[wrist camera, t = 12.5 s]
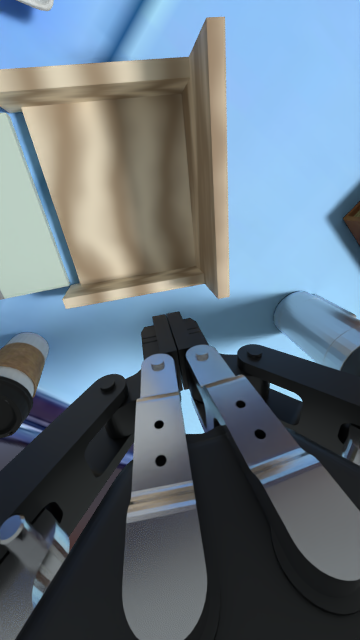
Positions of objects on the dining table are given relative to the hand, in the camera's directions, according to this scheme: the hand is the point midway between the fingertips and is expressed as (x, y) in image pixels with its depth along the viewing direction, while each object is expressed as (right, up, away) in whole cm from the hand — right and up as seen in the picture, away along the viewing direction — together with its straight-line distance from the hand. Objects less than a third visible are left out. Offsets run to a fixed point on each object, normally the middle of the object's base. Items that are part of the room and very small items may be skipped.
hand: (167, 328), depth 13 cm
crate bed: (-8, +17, +20) cm, 28 cm away
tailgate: (-18, +15, +19) cm, 30 cm away
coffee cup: (-25, -4, +28) cm, 38 cm away
